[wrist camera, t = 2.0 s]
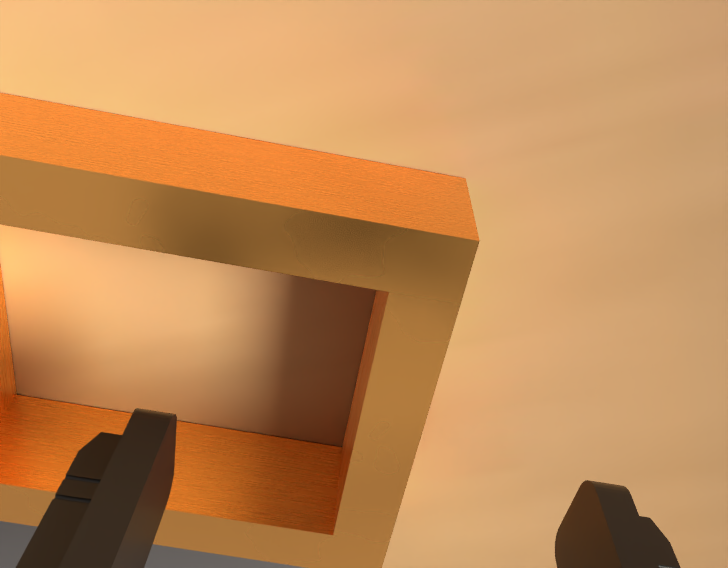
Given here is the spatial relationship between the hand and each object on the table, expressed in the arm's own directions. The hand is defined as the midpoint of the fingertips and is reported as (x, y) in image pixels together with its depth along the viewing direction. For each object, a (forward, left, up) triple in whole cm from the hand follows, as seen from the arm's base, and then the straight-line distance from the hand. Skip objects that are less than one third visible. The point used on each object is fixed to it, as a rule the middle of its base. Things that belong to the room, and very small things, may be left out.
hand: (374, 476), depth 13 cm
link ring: (+5, 0, -5) cm, 7 cm away
